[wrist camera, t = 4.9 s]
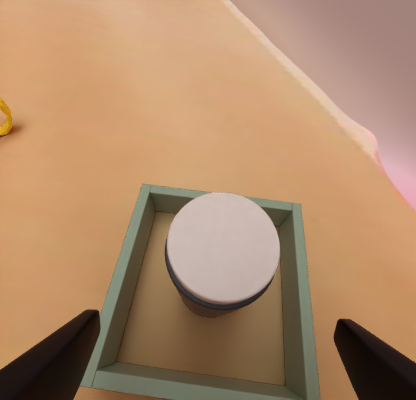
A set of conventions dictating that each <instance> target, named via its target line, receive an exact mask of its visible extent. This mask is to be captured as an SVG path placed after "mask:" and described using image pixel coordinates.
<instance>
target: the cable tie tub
mask: <svg viewBox="0 0 416 400" xmlns="http://www.w3.org/2000/svg"><path fill="white" fill-rule="evenodd" d="M279 258H280V242H279V237H278V233H277V231H276V228H275V226H274V224H273V222H272V220H271V219H270V217H269V216H268V215H267V214H266V212H265V211H264V210H263V209H262V208H261V207H259V206H258V205H257V204H256V203H254V202H253V201H251V200H249V199H247V198H245V197H243V196H240V195H237V194H233V193H225V192H215V193H209V194H205V195H202V196H200V197H197V198H195V199H193V200H192V201H190V202H189V203H187V204H186V205H185V206H184V207H183V208H182V209H181V210H180V211H179V212H178V213H177V214H176V216H175V218H174V219H173V221H172V223H171V226H170V228H169V232H168V236H167V239H166V245H165V261H166V266H167V270H168V272H169V275H170V277H171V279H172V281H173V283H174V285H175V286H176V288H177V290H178V292H179V294H180V296H181V297H182V299H183V301H184V303H185V305H186V306H187V307H188V308H189V309H190V310H191V311H192V312H193V313H195V314H197V315H199V316H201V317H206V318H215V317H219V316H221V315H224V314H226V313H229V312H232V311H234V310H237V309H239V308H242V307H244V306H247V305H249V304H250V303H252V302H254V301H255V300H257V299H258V298H259V297H260V296H261V295H262V294H263V293H264V292H265V291H266V290H267V288H268V287H269V285H270V284H271V282H272V280H273V277H274V274H275V272H276V270H277V267H278V264H279Z"/></svg>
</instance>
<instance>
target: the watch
mask: <svg viewBox="0 0 416 400" xmlns="http://www.w3.org/2000/svg"><path fill="white" fill-rule="evenodd" d="M0 109H1V110H2V111H3V112H4V114H5V115H6V116H7V120H6V121H5V123H4V124H3V126H0V136H1V135H6V134H8V133H9V131H10V130H11V128H12V126H13V125H12V118H11V112H10V109H9V107H8V106H7V105H6V104H5V102H4V101H3V100H2V99H1V98H0Z"/></svg>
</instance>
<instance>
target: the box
mask: <svg viewBox="0 0 416 400" xmlns="http://www.w3.org/2000/svg"><path fill="white" fill-rule="evenodd" d="M209 193H212V192H204V191H196V190H188V189H180V188H172V187H164V186H157V185H150V184H142V187H141V190H140V193H139V196H138V199H137V202H136V206H135V209H134V212H133V215H132V218H131V221H130V224H129V227H128V230H127V233H126V236H125V240H124V243H123V246H122V249H121V252H120V255H119V258H118V261H117V264H116V267H115V271H114V274H113V277H112V280H111V283H110V286H109V289H108V292H107V295H106V298H105V302H104V305H103V308H102V311H101V314H100V326H101V330H100V334H99V337H98V340H97V342H96V345H95V348H94V350H93V353H92V356H91V358H90V361H89V364H88V366H87V369H86V372H85V374H84V377H83V379H82V382H81V384H80V386H81V387H88V388H91V387H92V388H95V389H102V390H109V391H115V392H122V393H129V394H136V395H142V396H149V397H156V398H163V399H170V400H321V399H320V389H319V379H318V368H317V358H316V348H315V338H314V328H313V318H312V308H311V298H310V288H309V278H308V268H307V258H306V248H305V238H304V228H303V217H302V207H301V204H298V203H290V202H282V201H274V200H267V199H259V198H251V197H245V198H247V199H249V200H251V201H253V202H254V203H256V204H257V205H258V206H259V207H261V208H262V209H263V210H264V211H265V212H266V214H267V215H268V216H269V217H270V219H271V220H272V222H273V224H274V226H277V227H279V234H280V258H281V282H282V307H283V331H284V356H285V380H286V387H285V386H280V385H273V384H266V383H260V382H253V381H246V380H239V379H232V378H225V377H218V376H211V375H204V374H197V373H190V372H184V371H177V370H170V369H163V368H156V367H149V366H142V365H135V364H128V363H121V362H116V358H117V355H118V351H119V347H120V343H121V340H122V336H123V332H124V328H125V325H126V321H127V317H128V313H129V310H130V306H131V302H132V298H133V295H134V291H135V287H136V283H137V280H138V276H139V272H140V268H141V265H142V261H143V257H144V253H145V250H146V246H147V242H148V238H149V235H150V231H151V227H152V223H153V220H154V216H155V212H156V211H161V212H169V213H178V212H179V211H180V210H181V209H182V208H183V207H184V206H185V205H186V204H187V203H189V202H190V201H192V200H193V199H195V198H197V197H200V196H202V195H205V194H209Z"/></svg>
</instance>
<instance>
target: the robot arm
mask: <svg viewBox="0 0 416 400" xmlns="http://www.w3.org/2000/svg"><path fill="white" fill-rule="evenodd" d="M100 330H101V326H100V315H99V311H98V310H85V311H84V312H82V313H81V314H80V315H78V316H77V317H75V318H74V319H72V320H71V321H69V322H68V323H67V324H65V325H64V326H62V327H61V328H59V329H58V330H57V331H55V332H54V333H52V334H51V335H49V336H48V337H47V338H45V339H44V340H42V341H41V342H39V343H38V344H37V345H35V346H34V347H32V348H31V349H29V350H28V351H27V352H25V353H24V354H22V355H21V356H19V357H18V358H17V359H15V360H14V361H12V362H11V363H9V364H8V365H7V366H5V367H4V368H2V369H1V370H0V400H73V399H74V397H75V395H76V393H77V390H78V388H79V386H80V384H81V382H82V379H83V377H84V374H85V372H86V369H87V366H88V364H89V361H90V358H91V356H92V353H93V350H94V348H95V345H96V342H97V340H98V337H99V334H100ZM334 342H335V345H336V347H337V350H338V352H339V355H340V357H341V360H342V362H343V364H344V367H345V369H346V372H347V374H348V377H349V379H350V381H351V384H352V386H353V388H354V390H355V392H356V394H357V397H358V399H359V400H416V363H415V362H413V361H412V360H410V359H409V358H407V357H406V356H404V355H403V354H401V353H400V352H398V351H397V350H395V349H394V348H393V347H391V346H390V345H388V344H387V343H385V342H384V341H382V340H381V339H379V338H378V337H376V336H375V335H373V334H372V333H370V332H369V331H367V330H366V329H364V328H363V327H361V326H360V325H358V324H357V323H355V322H354V321H352V320H350V319H339V320H338V321H337V325H336V328H335V332H334Z"/></svg>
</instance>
